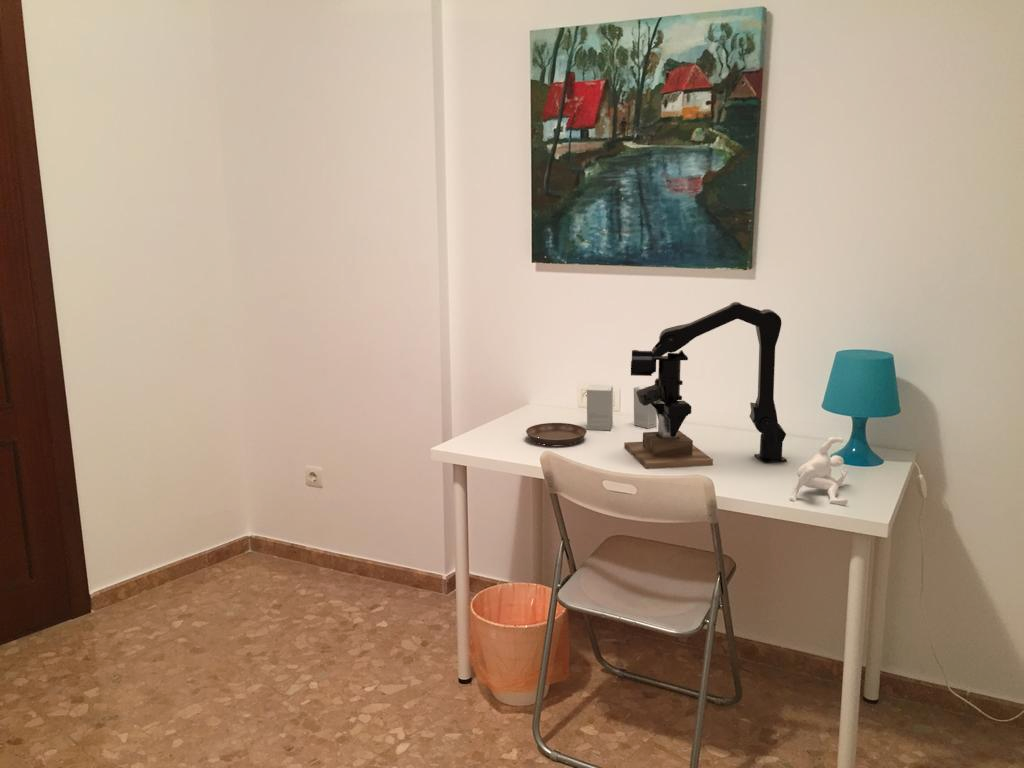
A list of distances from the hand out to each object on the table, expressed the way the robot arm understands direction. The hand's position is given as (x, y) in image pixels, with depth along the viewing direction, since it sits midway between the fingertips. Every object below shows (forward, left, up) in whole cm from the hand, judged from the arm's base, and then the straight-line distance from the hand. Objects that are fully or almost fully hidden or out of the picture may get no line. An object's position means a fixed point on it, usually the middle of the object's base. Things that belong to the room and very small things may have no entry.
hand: (667, 432), depth 226 cm
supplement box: (+33, +10, -7) cm, 35 cm away
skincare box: (+32, -4, -7) cm, 33 cm away
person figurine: (-35, -25, -7) cm, 44 cm away
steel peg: (0, 0, -5) cm, 5 cm away
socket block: (0, 0, -6) cm, 6 cm away
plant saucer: (+22, +26, -7) cm, 35 cm away
